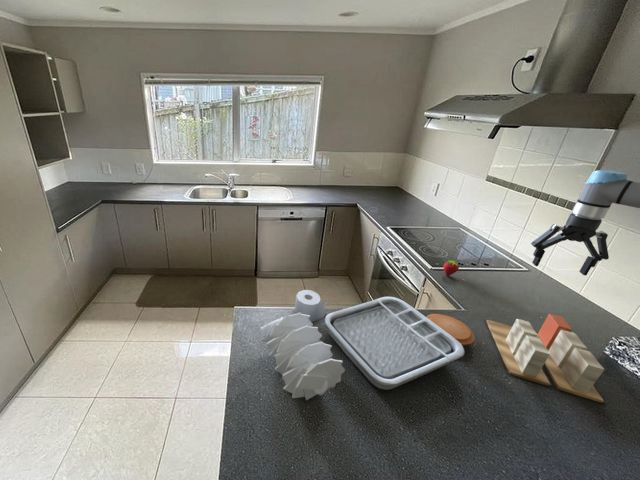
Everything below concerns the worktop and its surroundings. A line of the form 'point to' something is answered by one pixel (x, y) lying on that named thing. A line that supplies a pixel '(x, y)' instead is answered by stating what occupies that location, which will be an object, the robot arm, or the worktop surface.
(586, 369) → the cubes on wooden plank
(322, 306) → the toilet tissue
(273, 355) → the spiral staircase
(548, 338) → the red rectangular block
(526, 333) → the wooden base with cubes
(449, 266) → the strawberry
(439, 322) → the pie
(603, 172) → the robot arm
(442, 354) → the dish rack
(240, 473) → the worktop surface
